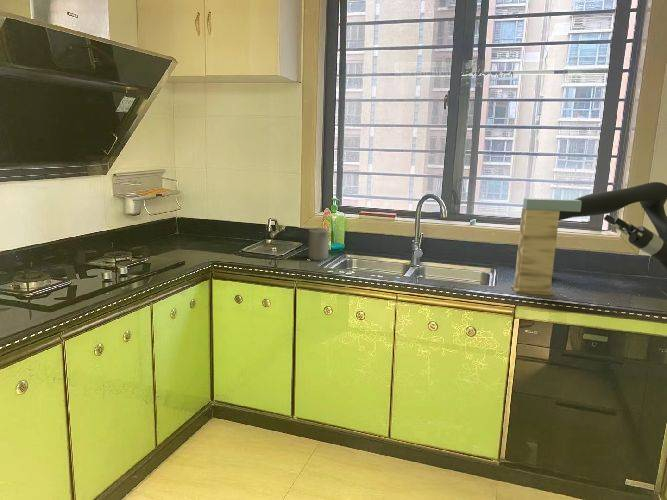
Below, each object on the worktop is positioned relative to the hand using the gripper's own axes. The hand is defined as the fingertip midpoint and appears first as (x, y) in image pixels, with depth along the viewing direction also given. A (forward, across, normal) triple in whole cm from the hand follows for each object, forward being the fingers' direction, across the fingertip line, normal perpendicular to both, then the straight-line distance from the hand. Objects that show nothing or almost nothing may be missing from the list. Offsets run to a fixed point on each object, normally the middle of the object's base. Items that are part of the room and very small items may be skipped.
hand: (610, 218), depth 197 cm
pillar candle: (+83, -45, +82) cm, 125 cm away
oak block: (+8, 0, +39) cm, 39 cm away
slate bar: (+20, 0, +9) cm, 22 cm away
